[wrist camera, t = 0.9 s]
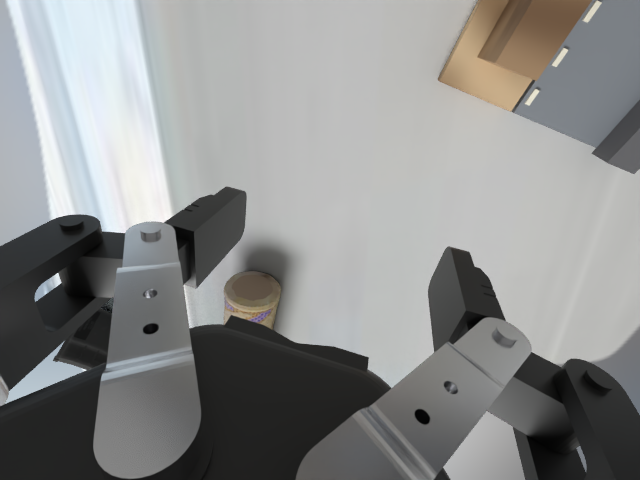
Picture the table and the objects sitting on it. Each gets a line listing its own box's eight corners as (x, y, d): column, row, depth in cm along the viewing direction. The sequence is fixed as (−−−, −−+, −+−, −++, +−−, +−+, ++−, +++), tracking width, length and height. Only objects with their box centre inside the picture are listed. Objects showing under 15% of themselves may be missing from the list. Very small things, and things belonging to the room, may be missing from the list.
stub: (536, -114, 21) (588, -165, 15) (627, -73, 21) (709, -109, 15) (437, 79, 27) (448, 91, 22) (506, 108, 28) (534, 127, 22)
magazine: (28, 337, 48) (158, 485, 48) (31, 328, 47) (166, 482, 46) (130, 285, 63) (230, 398, 62) (135, 277, 61) (239, 393, 61)
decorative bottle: (235, 262, 44) (214, 294, 39) (287, 277, 44) (273, 312, 38) (226, 366, 59) (209, 400, 53) (265, 377, 59) (252, 413, 53)
